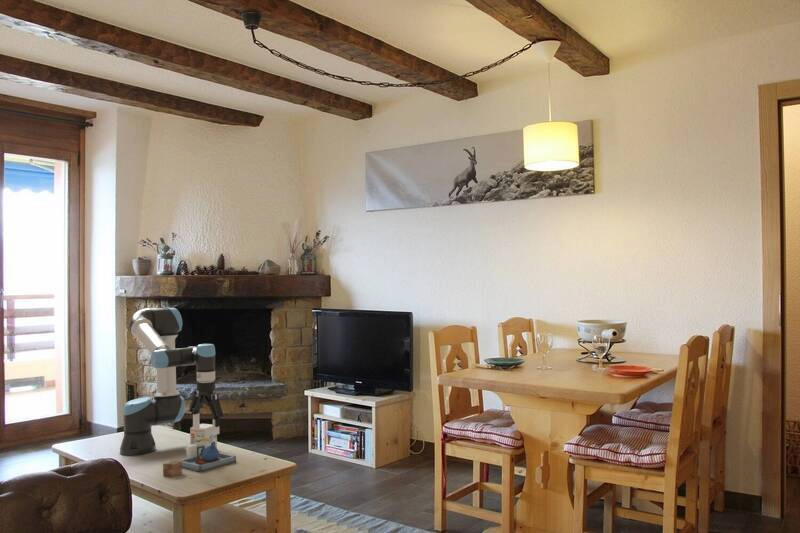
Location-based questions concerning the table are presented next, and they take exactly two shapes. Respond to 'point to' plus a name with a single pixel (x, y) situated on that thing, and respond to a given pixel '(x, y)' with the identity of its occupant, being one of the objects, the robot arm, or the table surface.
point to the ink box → (203, 436)
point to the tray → (191, 464)
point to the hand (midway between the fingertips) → (206, 432)
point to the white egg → (191, 450)
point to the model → (207, 454)
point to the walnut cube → (172, 468)
